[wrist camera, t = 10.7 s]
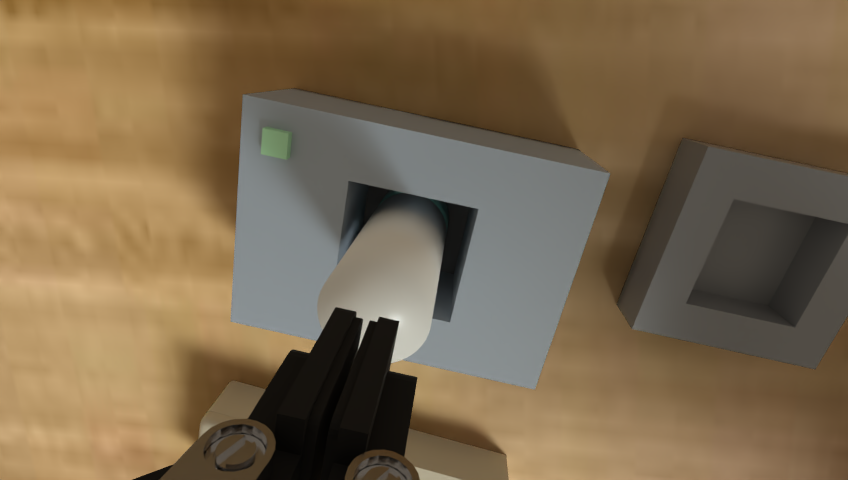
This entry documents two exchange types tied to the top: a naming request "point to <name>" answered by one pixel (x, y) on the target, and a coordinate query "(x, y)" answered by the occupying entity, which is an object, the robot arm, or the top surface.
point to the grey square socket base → (744, 256)
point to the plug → (392, 269)
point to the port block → (422, 176)
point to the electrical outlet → (431, 455)
